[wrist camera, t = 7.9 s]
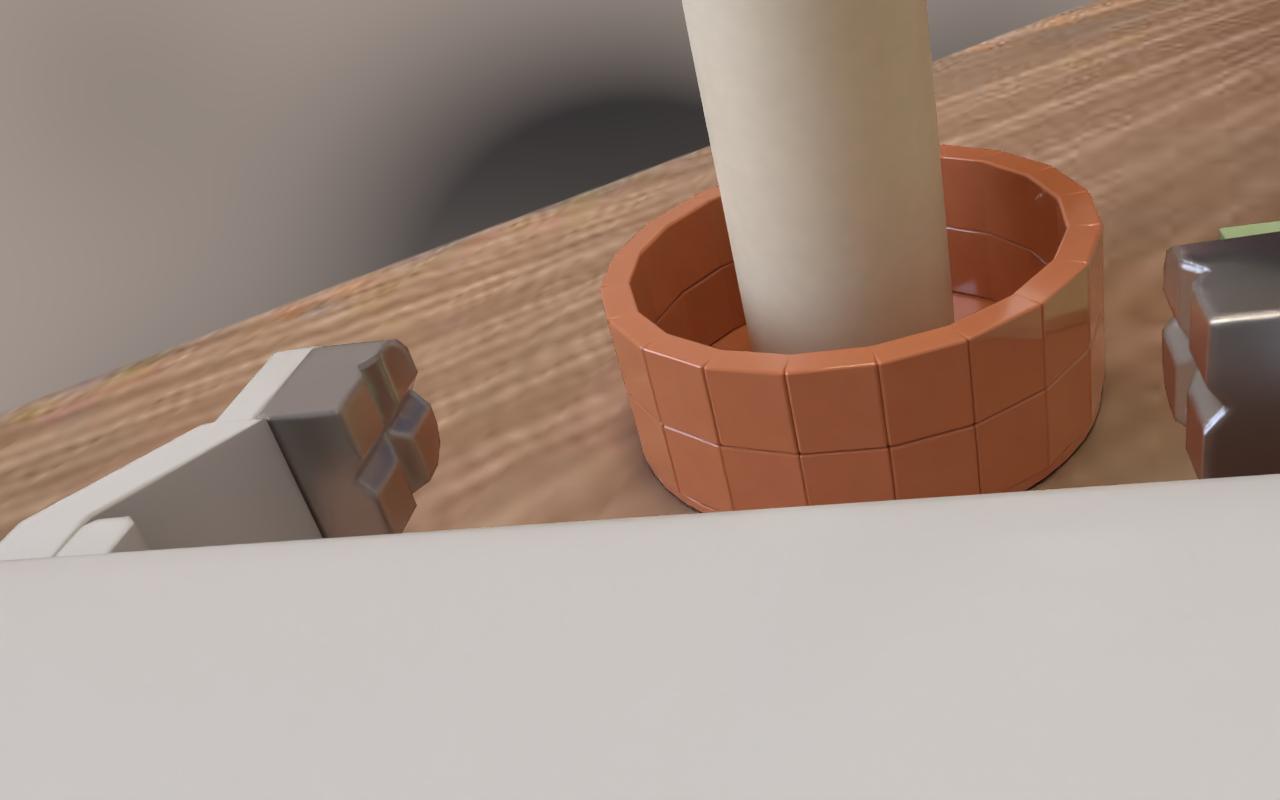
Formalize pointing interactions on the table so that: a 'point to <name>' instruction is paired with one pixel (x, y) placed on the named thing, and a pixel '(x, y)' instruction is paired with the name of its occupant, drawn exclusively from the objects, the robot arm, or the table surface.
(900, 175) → the candle
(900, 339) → the pot
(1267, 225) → the pad
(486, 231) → the table surface
